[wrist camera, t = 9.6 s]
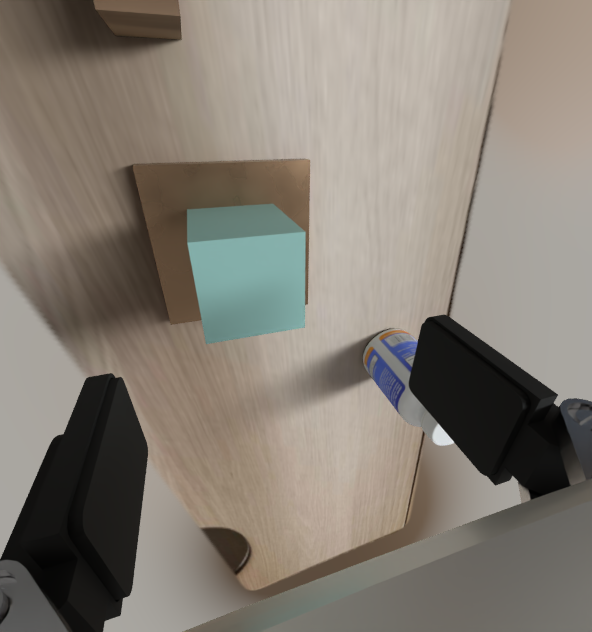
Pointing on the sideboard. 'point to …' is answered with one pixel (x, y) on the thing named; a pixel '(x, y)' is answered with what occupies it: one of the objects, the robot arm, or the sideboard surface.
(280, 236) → the teal rectangular block
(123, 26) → the tan cardboard cube
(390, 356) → the pill bottle
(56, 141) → the sideboard surface
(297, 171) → the brown square base
